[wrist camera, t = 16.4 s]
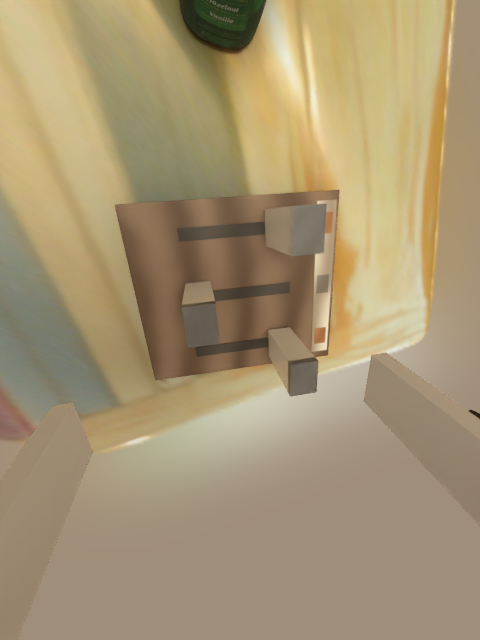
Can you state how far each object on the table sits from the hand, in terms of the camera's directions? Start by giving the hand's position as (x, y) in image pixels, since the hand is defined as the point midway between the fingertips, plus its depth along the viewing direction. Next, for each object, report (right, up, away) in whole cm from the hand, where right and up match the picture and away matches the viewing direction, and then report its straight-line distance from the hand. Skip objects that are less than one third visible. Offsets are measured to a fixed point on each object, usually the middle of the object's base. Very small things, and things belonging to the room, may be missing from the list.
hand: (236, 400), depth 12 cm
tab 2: (+5, +15, +18) cm, 24 cm away
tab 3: (+6, +1, +24) cm, 25 cm away
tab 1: (-5, +6, +20) cm, 22 cm away
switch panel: (0, +8, +23) cm, 25 cm away
